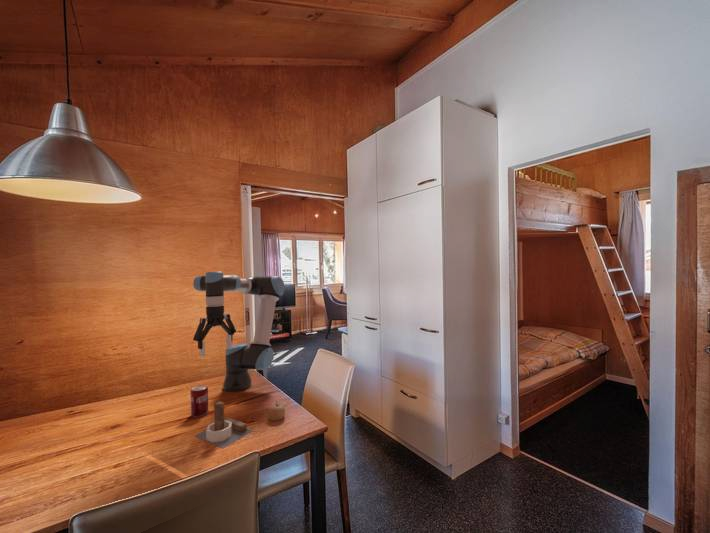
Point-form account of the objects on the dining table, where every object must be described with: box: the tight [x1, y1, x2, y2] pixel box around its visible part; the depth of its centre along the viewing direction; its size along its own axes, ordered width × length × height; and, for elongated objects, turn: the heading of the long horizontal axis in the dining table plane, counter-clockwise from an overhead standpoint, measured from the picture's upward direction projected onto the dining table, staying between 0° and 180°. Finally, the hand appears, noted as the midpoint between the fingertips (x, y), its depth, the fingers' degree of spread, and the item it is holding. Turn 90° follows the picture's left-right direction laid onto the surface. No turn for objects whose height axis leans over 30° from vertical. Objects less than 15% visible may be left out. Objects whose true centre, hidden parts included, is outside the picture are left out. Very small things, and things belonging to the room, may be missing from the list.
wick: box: [224, 416, 248, 433], centre depth 130 cm, size 12×2×2 cm, turn 59°
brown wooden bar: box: [213, 400, 225, 431], centre depth 124 cm, size 2×2×12 cm
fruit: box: [267, 400, 286, 422], centre depth 138 cm, size 8×7×8 cm
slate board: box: [194, 428, 254, 449], centre depth 126 cm, size 14×18×1 cm
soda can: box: [189, 384, 209, 418], centre depth 146 cm, size 7×7×12 cm
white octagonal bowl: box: [205, 420, 232, 442], centre depth 124 cm, size 9×9×4 cm
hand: (216, 352), depth 144 cm, fingers open, 13 cm apart
